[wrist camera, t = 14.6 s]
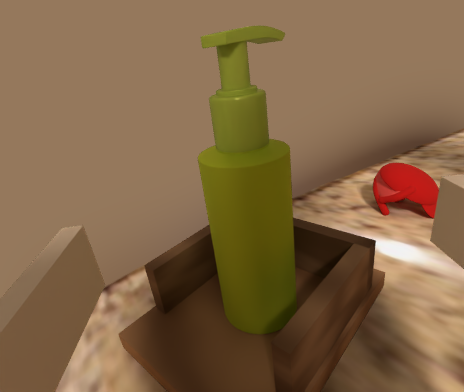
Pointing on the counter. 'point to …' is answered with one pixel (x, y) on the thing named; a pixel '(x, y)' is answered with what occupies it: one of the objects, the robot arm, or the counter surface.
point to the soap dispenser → (248, 193)
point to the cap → (405, 187)
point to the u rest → (246, 344)
